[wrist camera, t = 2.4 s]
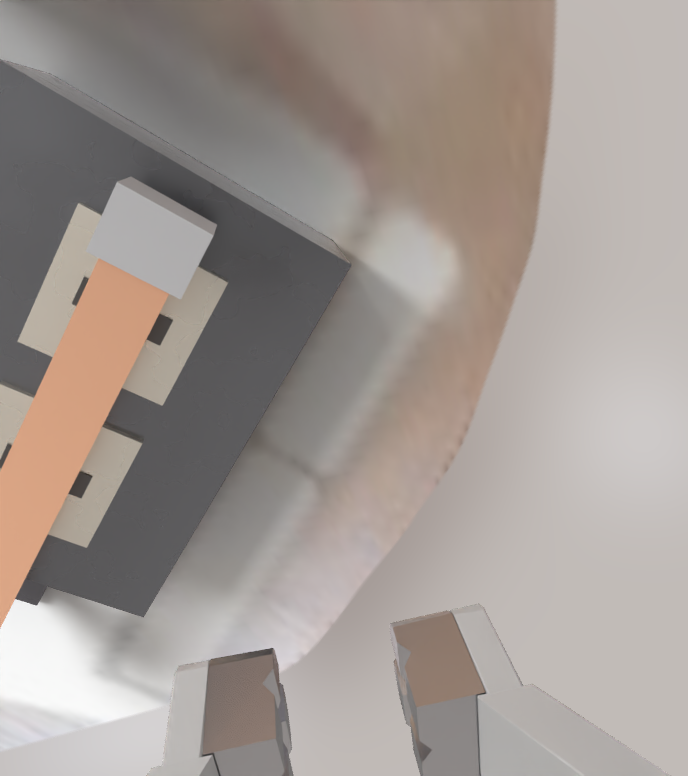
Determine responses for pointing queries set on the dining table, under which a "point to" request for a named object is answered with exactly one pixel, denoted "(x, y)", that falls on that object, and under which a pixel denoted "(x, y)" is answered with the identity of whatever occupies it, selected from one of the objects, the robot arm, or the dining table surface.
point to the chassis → (164, 343)
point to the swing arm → (93, 362)
